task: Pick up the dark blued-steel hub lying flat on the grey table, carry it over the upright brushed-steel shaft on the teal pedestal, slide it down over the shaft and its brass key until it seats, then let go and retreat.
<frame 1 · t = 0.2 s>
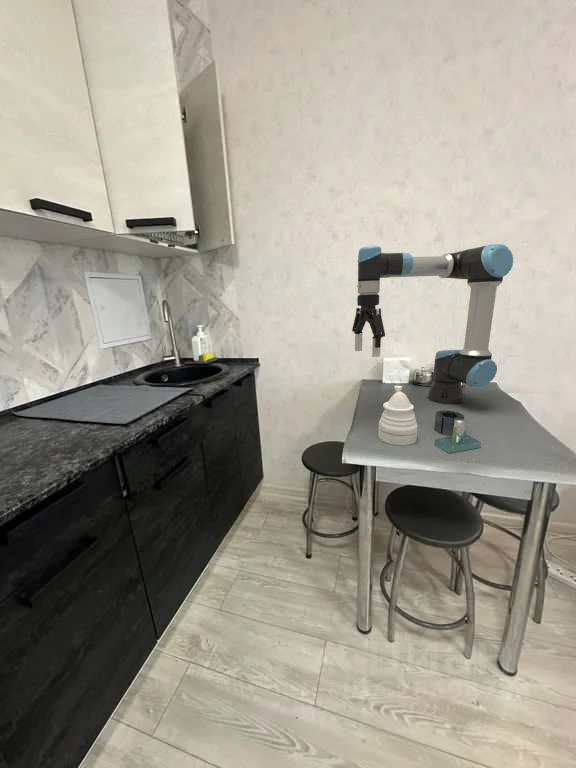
hand: (366, 353, 116), 28 cm above the table, fingers open, 13 cm apart
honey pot: (397, 437, 111), on the table
post: (457, 446, 102), on the table
hub: (448, 430, 114), on the table
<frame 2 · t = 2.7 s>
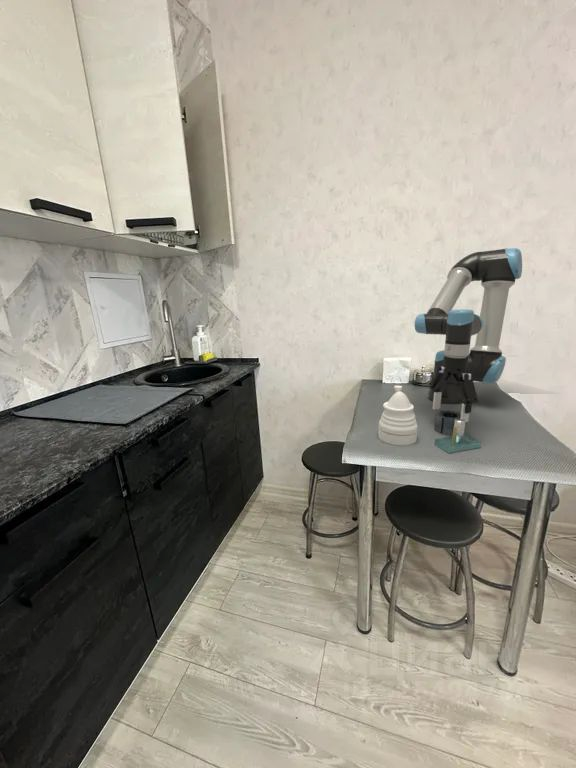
hand: (449, 414, 112), 6 cm above the table, fingers open, 13 cm apart
nothing on the table moved.
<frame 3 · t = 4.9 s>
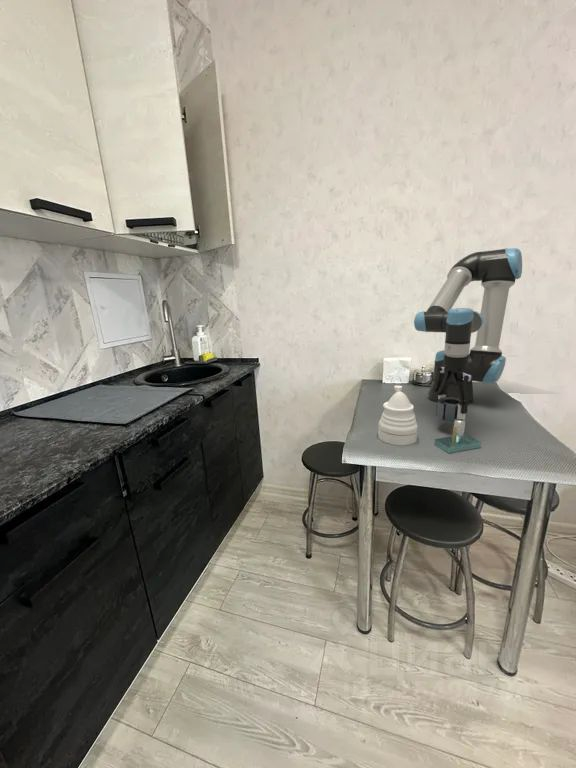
hand: (450, 416, 113), 5 cm above the table, fingers closed on hub, 9 cm apart
hub: (450, 417, 113), point 5 cm above the table, touching gripper
everything else where it was.
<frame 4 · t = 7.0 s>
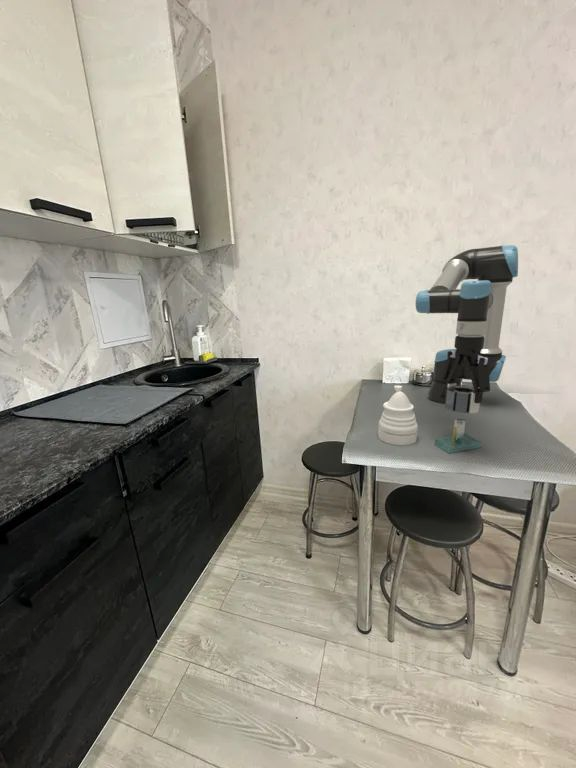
hand: (461, 407, 99), 13 cm above the table, fingers closed on hub, 9 cm apart
hub: (461, 408, 99), point 13 cm above the table, touching gripper
everything else where it was.
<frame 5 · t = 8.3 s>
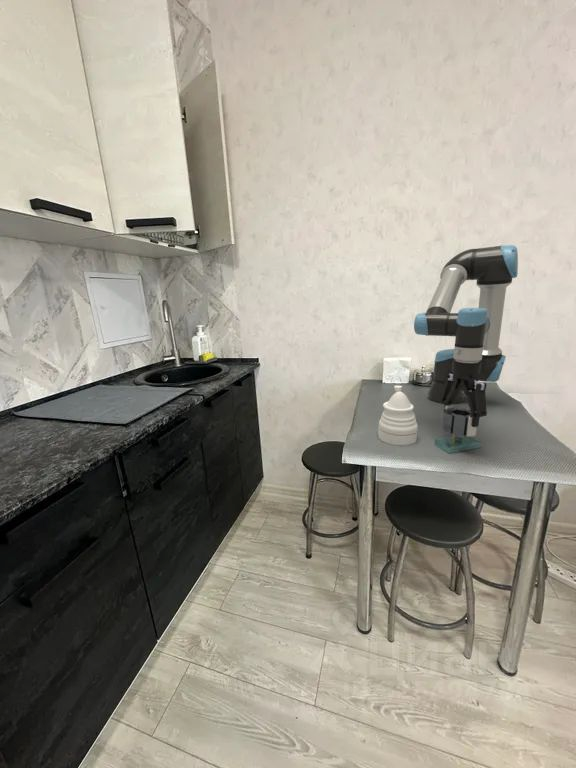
hand: (458, 429, 101), 6 cm above the table, fingers closed on hub, 9 cm apart
hub: (458, 430, 101), point 6 cm above the table, touching gripper
everything else where it was.
when the fingers open (2 cm above the table, at t = 9.5 s): hub stays where it is, resting on post.
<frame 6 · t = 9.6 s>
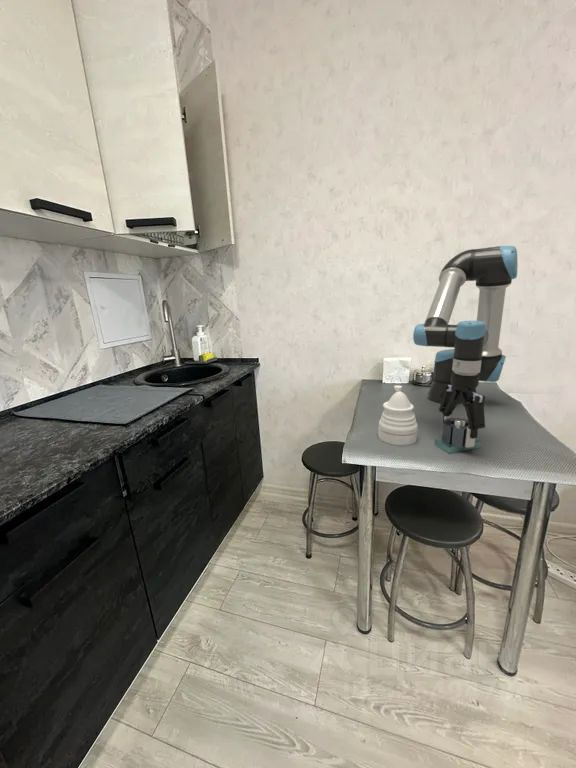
hand: (457, 440, 102), 2 cm above the table, fingers open, 9 cm apart
hub: (457, 440, 102), point 2 cm above the table, touching post
everything else where it was.
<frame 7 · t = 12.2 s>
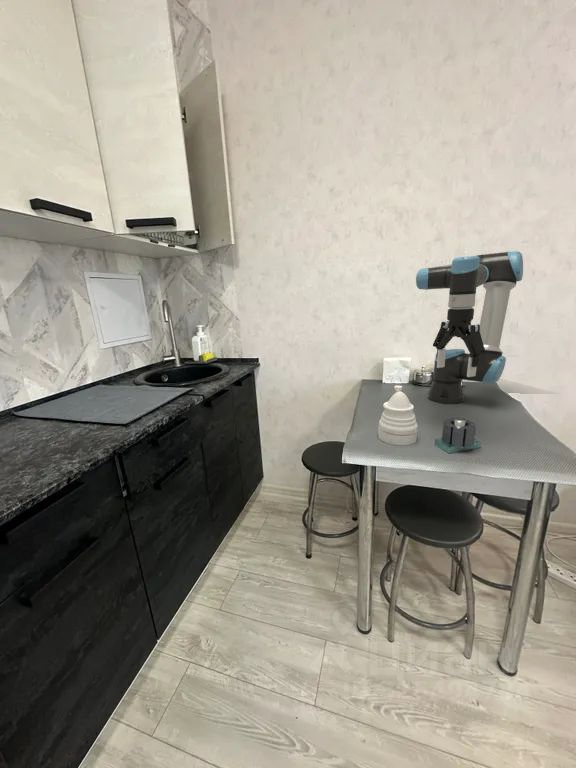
hand: (454, 371, 107), 22 cm above the table, fingers open, 13 cm apart
nothing on the table moved.
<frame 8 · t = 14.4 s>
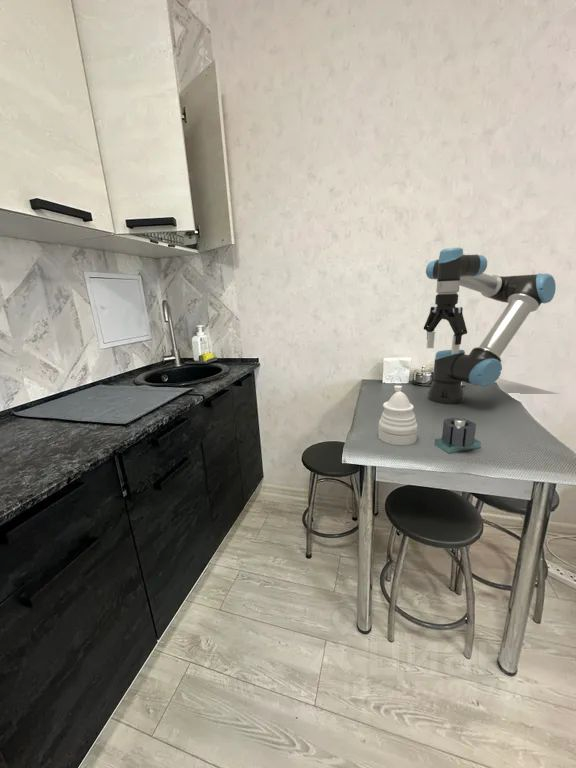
hand: (441, 350, 121), 27 cm above the table, fingers open, 13 cm apart
nothing on the table moved.
at the end: hub 0.1 cm off-centre on the post, point 2.0 cm above the post's base; hub tilted 0°; the gripper is holding nothing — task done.
